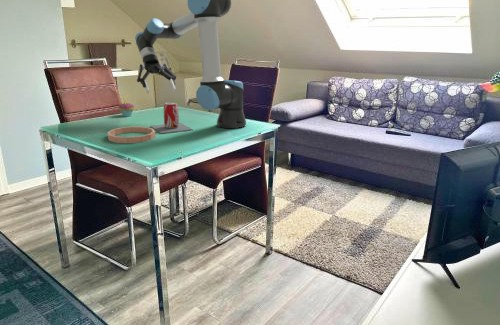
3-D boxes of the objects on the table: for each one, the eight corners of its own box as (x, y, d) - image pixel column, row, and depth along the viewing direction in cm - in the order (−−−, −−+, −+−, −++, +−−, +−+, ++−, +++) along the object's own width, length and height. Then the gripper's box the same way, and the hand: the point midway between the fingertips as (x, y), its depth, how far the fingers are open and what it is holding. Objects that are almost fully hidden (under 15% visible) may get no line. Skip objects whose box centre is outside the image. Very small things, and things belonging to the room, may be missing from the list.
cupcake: (130, 117, 210) (128, 95, 206) (116, 116, 212) (114, 95, 208) (137, 114, 218) (135, 93, 214) (123, 113, 219) (122, 92, 216)
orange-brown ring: (161, 132, 179) (160, 127, 178) (144, 144, 160) (144, 138, 160) (120, 130, 181) (120, 125, 181) (99, 141, 163) (99, 136, 162)
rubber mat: (180, 123, 198) (180, 122, 198) (192, 130, 185) (192, 129, 185) (150, 127, 190) (150, 125, 190) (160, 134, 177) (160, 132, 177)
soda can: (172, 129, 183) (170, 104, 179) (161, 127, 186) (160, 103, 183) (181, 127, 189) (181, 103, 185) (171, 125, 192) (170, 101, 188)
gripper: (170, 62, 207) (182, 94, 200) (124, 63, 194) (135, 97, 187) (174, 53, 201) (186, 85, 194) (126, 53, 188) (138, 87, 181)
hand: (161, 91), depth 190 cm, fingers open, 13 cm apart
